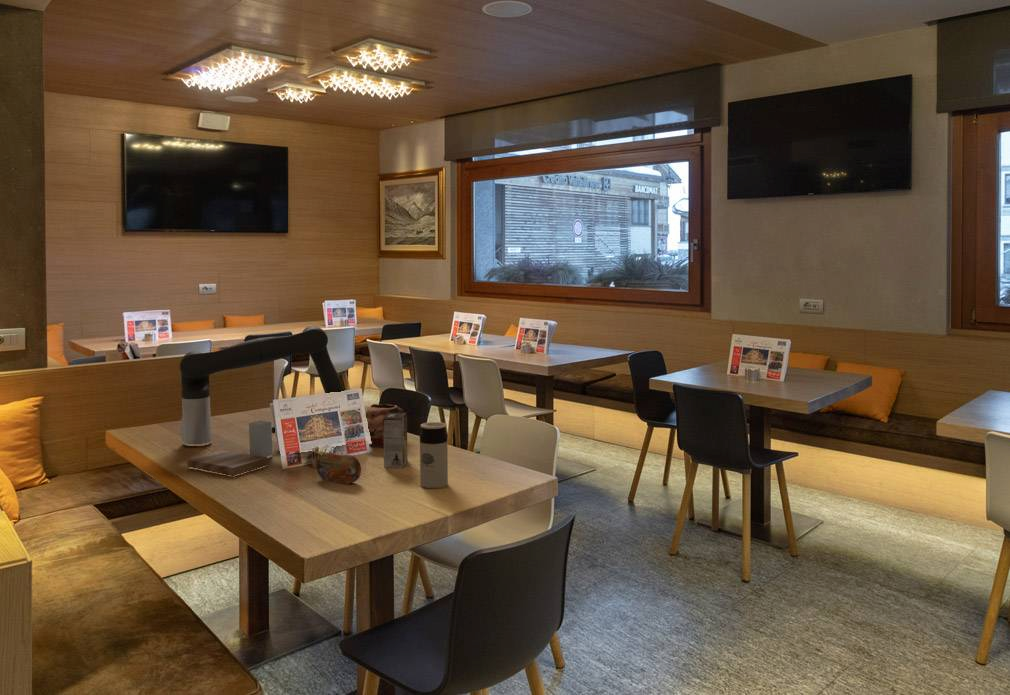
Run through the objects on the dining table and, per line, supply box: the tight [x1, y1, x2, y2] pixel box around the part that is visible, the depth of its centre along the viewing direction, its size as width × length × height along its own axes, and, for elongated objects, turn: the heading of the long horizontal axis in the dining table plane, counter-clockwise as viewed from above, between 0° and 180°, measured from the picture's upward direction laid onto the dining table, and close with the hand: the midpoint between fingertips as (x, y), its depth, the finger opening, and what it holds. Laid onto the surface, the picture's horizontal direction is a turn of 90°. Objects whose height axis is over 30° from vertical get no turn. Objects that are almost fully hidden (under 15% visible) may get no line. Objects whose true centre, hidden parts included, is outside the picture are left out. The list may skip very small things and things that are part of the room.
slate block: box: [248, 420, 273, 457], centre depth 257 cm, size 5×5×12 cm
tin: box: [316, 452, 362, 485], centre depth 229 cm, size 15×3×8 cm, turn 62°
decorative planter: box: [365, 403, 405, 448], centre depth 277 cm, size 20×12×14 cm, turn 152°
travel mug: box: [419, 421, 449, 490], centre depth 225 cm, size 8×8×18 cm
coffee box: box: [383, 412, 408, 469], centre depth 249 cm, size 9×6×16 cm
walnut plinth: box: [187, 450, 269, 476], centre depth 245 cm, size 20×14×3 cm
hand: (281, 431), depth 265 cm, fingers open, 8 cm apart
